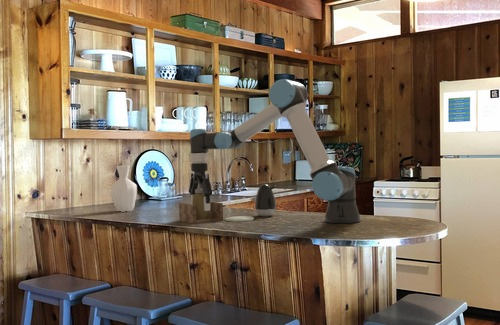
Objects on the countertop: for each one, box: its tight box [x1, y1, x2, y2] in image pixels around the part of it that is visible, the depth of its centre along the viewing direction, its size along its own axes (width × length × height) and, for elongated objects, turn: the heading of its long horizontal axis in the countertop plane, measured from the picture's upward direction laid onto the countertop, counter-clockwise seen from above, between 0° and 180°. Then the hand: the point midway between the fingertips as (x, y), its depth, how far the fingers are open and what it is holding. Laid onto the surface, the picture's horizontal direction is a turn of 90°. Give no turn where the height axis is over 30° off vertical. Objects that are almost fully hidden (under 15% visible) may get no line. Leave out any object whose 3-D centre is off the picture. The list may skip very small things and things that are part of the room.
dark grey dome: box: [254, 183, 277, 217], centre depth 265 cm, size 10×10×15 cm
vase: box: [110, 165, 138, 213], centre depth 306 cm, size 14×14×25 cm
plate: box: [225, 215, 255, 223], centre depth 253 cm, size 13×13×1 cm
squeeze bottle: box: [193, 183, 210, 220], centre depth 255 cm, size 8×8×18 cm
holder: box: [178, 200, 224, 225], centre depth 255 cm, size 15×15×8 cm
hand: (200, 209), depth 255 cm, fingers open, 12 cm apart
